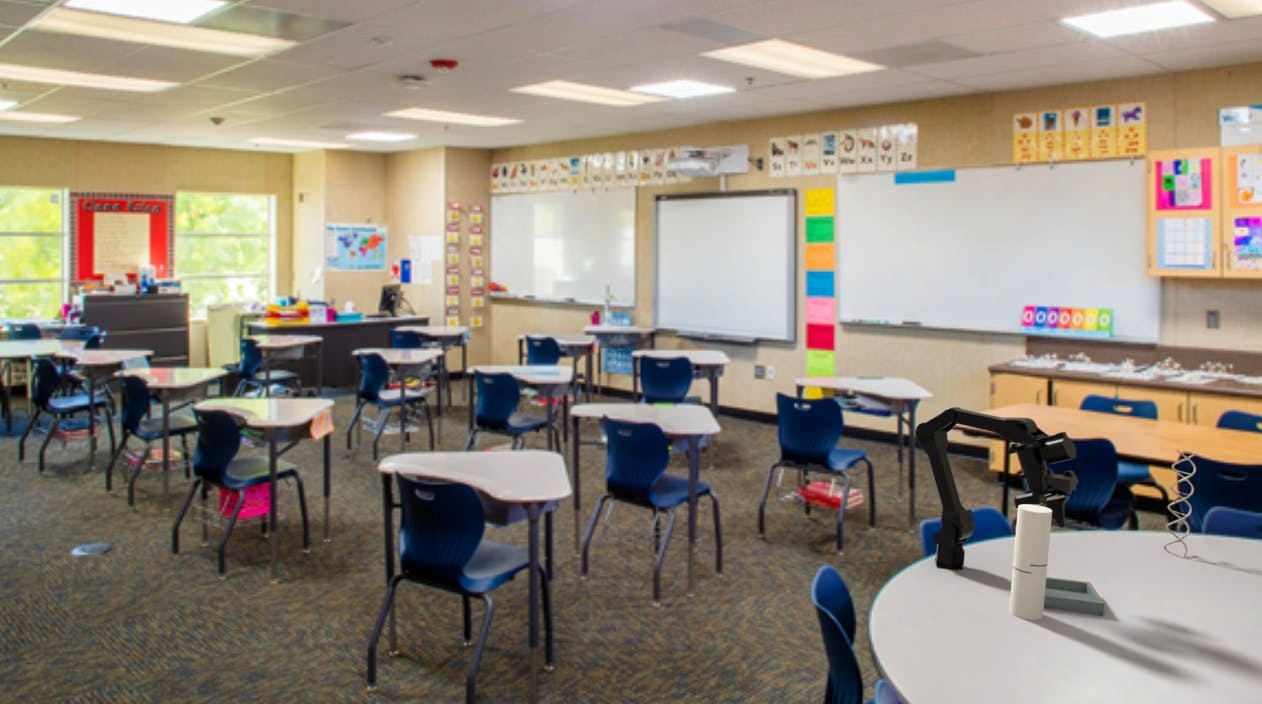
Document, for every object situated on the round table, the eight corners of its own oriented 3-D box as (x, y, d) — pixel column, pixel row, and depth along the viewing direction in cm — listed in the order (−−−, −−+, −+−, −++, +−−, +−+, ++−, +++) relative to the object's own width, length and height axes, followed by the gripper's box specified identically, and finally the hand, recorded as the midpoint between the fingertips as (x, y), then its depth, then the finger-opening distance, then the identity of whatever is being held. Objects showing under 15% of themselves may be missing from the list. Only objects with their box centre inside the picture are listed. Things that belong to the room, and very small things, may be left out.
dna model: (1156, 550, 260) (1166, 449, 257) (1173, 549, 262) (1183, 449, 259) (1176, 557, 254) (1187, 454, 251) (1193, 556, 256) (1204, 454, 253)
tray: (1033, 606, 211) (1034, 594, 210) (1023, 585, 225) (1024, 574, 225) (1103, 615, 207) (1104, 603, 206) (1088, 593, 221) (1090, 582, 221)
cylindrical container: (1046, 621, 202) (1055, 514, 199) (1012, 617, 203) (1022, 511, 201) (1038, 609, 209) (1047, 505, 206) (1006, 606, 210) (1015, 503, 208)
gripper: (1048, 465, 208) (1069, 531, 205) (1081, 456, 221) (1102, 519, 217) (1004, 474, 217) (1024, 538, 213) (1039, 466, 229) (1058, 526, 225)
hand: (1054, 530), depth 217 cm, fingers open, 9 cm apart
